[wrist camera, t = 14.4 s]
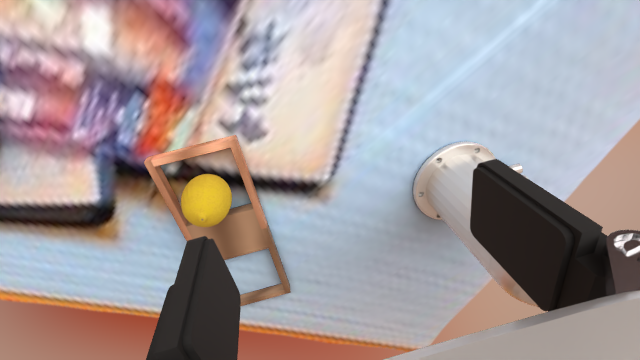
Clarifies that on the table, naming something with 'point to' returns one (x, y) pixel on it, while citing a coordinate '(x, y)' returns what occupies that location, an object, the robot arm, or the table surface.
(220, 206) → the lemon
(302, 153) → the table surface
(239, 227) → the wooden frame
